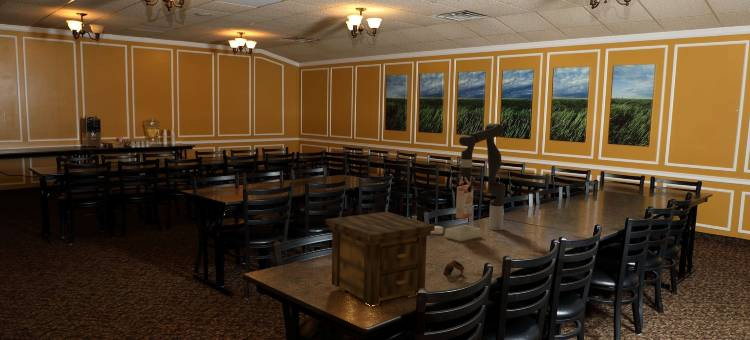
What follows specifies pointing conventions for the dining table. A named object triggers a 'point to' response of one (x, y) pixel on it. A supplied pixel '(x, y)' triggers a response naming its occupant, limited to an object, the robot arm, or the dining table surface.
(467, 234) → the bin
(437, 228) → the tan small block
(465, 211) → the cracker box
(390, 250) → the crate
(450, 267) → the brown curved band
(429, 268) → the dining table surface
